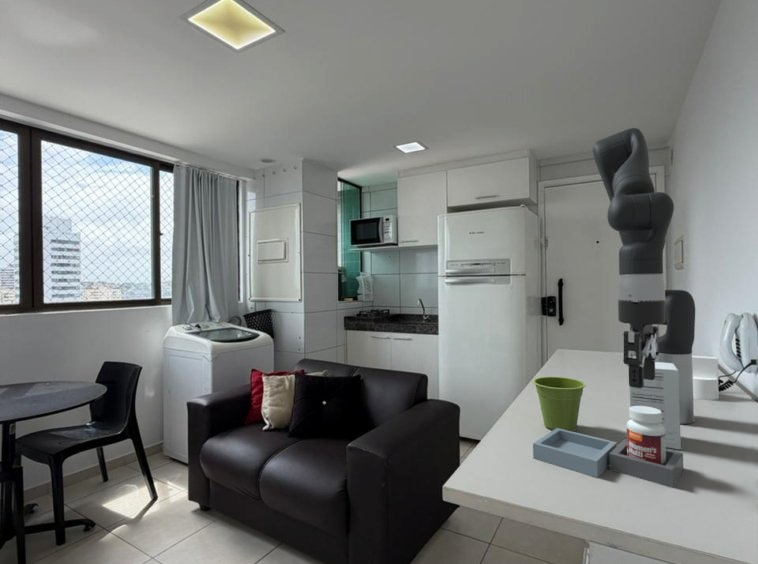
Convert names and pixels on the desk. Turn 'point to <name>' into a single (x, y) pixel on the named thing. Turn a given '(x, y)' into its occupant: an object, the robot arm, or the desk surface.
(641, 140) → the robot arm
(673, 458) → the gray hollow square frame
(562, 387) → the plant pot
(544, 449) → the parts tray
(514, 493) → the desk surface
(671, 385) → the supplement box
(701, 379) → the cylinder with rectangular tab
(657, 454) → the pill bottle
